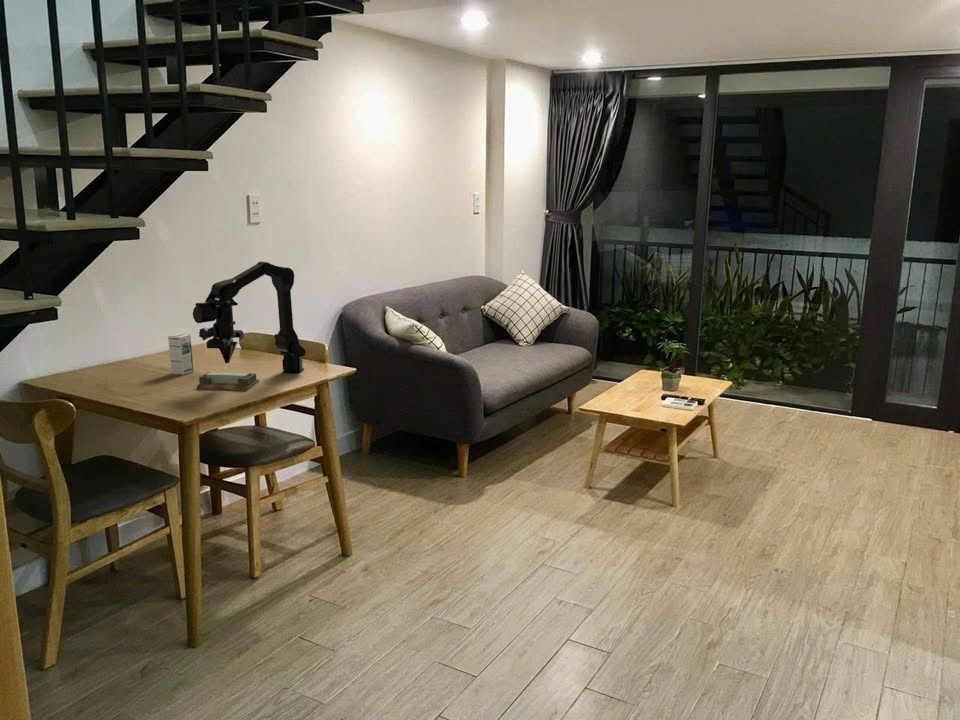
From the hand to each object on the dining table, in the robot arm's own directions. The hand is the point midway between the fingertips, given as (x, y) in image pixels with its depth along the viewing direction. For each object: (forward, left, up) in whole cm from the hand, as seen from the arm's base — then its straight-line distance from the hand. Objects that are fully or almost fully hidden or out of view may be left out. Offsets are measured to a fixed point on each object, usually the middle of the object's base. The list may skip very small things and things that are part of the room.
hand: (227, 363), depth 282 cm
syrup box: (+24, -15, -8) cm, 29 cm away
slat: (0, 0, -7) cm, 7 cm away
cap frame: (0, 0, -8) cm, 8 cm away
